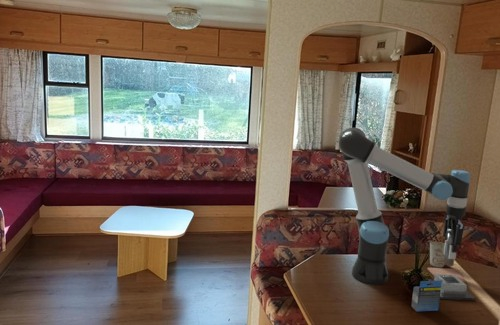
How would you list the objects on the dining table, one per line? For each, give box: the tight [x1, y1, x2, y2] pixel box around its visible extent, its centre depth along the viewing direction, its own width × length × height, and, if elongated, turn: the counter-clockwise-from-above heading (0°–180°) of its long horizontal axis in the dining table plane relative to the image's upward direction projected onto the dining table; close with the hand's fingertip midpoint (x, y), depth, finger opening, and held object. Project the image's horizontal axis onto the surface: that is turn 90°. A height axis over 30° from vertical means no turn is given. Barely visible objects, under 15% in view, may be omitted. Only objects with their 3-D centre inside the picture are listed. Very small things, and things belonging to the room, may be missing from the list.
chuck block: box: [431, 274, 476, 301], centre depth 169 cm, size 14×14×5 cm
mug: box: [429, 241, 445, 268], centre depth 196 cm, size 8×13×10 cm, turn 145°
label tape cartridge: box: [410, 280, 442, 312], centre depth 153 cm, size 9×4×12 cm, turn 99°
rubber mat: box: [427, 267, 467, 283], centre depth 184 cm, size 12×12×1 cm
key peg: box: [444, 228, 455, 267], centre depth 181 cm, size 5×5×16 cm
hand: (449, 256), depth 182 cm, fingers closed on key peg, 4 cm apart
